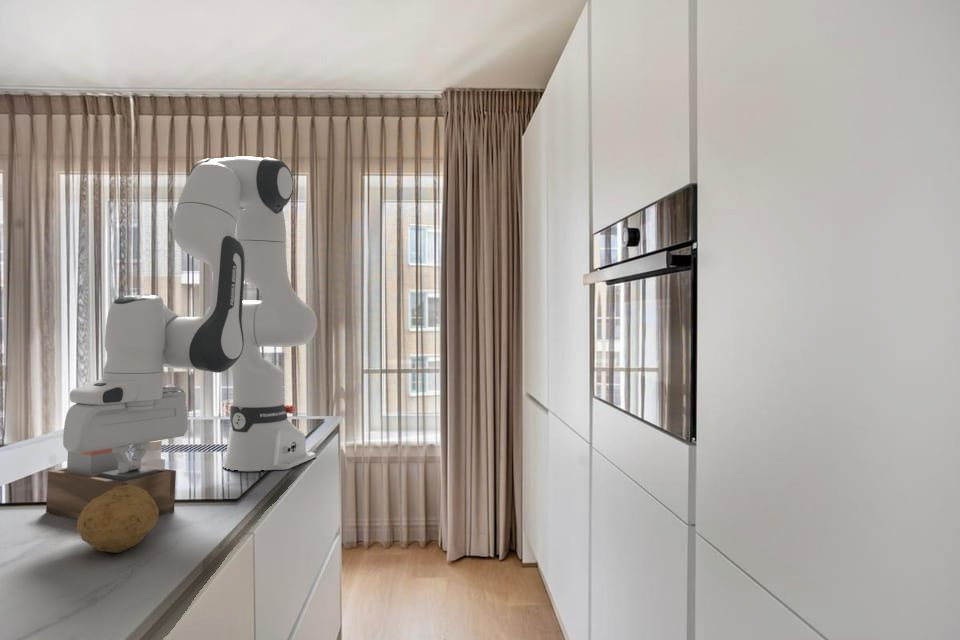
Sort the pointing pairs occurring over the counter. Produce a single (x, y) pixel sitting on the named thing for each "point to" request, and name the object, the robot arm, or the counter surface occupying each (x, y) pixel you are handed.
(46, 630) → the counter surface
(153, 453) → the pepper shaker
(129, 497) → the potato
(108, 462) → the red and grey cube
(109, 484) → the wooden divided tray
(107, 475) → the grey cube
